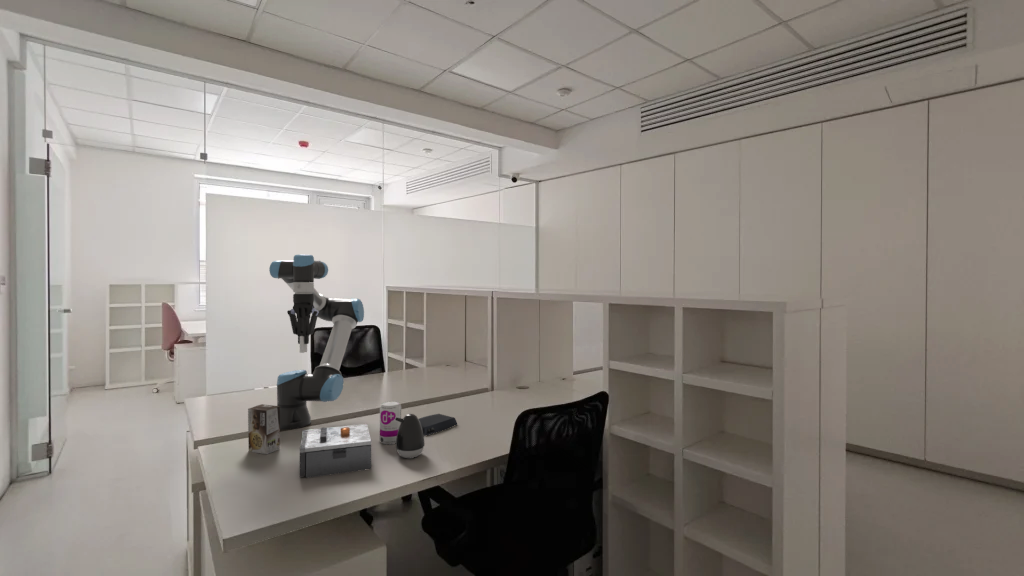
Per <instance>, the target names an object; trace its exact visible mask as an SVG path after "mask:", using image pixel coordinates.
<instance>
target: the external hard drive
mask: <svg viewBox="0 0 1024 576" xmlns="http://www.w3.org/2000/svg"><path fill="white" fill-rule="evenodd" d="M418 419H419V421H420V424H421V426H422V429H423V434H424V437H427V436H429V434H431V435H434V434H437V433H440V432H443V431H446V430H448V428H449V429H451V428H453V427H452V426H454V425H456V426H458V421H457V420H456V417H453V416H449V415H445V414H440V413H435V414H430V415H426V416H423V417H420V418H418ZM450 427H451V428H450ZM454 427H455V426H454ZM445 429H446V430H445ZM442 430H443V431H442ZM436 432H437V433H436ZM433 433H434V434H433ZM426 435H427V436H426Z"/></svg>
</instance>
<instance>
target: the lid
mask: <svg viewBox="0 0 1024 576" xmlns="http://www.w3.org/2000/svg"><path fill="white" fill-rule="evenodd" d="M363 445H371V446H372V438H371V435H370V430H369V426H368V423H364V424H363V423H361V424H350V425H341V426H334V427H333V426H331V427H321V428H313V429H312V428H311V429H310V428H309V429H303V430H302V435H301V440H300V445H299V478H303V477H305V478H306V452H311V451H320V450H328V449H337V448H346V447H354V446H363Z"/></svg>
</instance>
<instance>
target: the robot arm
mask: <svg viewBox="0 0 1024 576" xmlns="http://www.w3.org/2000/svg"><path fill="white" fill-rule="evenodd" d="M328 273H329V267H328V264H326V262H324V261H321V260H315V258H314V256H313V255H312V254H294V256H293V260H282V259H281V260H273V261H272V262H271V263H270V266H269V275H270V277H272V278H274V279H277V280H279V279H280V280H282V281H284V283H285V284H286V285H287V286H288V287H289V288H290V289H291V290H292V292H293V295H292V302H293V306H292V308H291V309H289V310H287V315H288V317H289V320H290V325H291V326H290V327H291V329H292V334H293V335H296V336H297V344H298V345H299V353H300V354H301V353H302V354H304V353H307V352H308V344H309V343H310V335H313V334H314V333H315V329H316V323H317V319H320V320H323V321H325V322H332V324H333V326H332V328H331V332H330V334H329V338H328V340H327V343H326V347H325V349H324V351H323V354H322V357H321V361H320V363H319V365H317V366H315V368H314V371H313V372H312V373H308V371H307V370H306V369H297V370H291V371H286V372H283V373H281V374H278V376H277V381H276V406H280V430H294V429H295V430H296V429H301V428H303V427H306V426H308V425H310V424H311V422H312V419H311V414H310V412H309V408H308V406H307V402H322V403H326V402H334V401H336V400H337V399H338V398H339V397H340V395H341V394H342V392H343V389H344V382H345V381H344V377H343V376H342V372H341V371H340V369H341V365H342V362H343V359H344V355H345V353H346V350H347V347H348V343H349V339H350V337H351V333H352V330H354V329H355V328H356V327H357V325H358V323H362V322H363V321H364V320H365V319H364V318H365V309H364V304H363V302H362V300H361V299H359V298H355V297H354V298H353V297H351V298H344V297H343V298H341V297H340V298H339V297H336V298H334V297H326V296H325V295H323V294H321V293H319V291H317V290H316V288H315V283H314V282H315V281H314V280H315V279H317V280H320V279H324V278H326V277H327V276H328Z"/></svg>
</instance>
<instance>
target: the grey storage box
mask: <svg viewBox="0 0 1024 576" xmlns="http://www.w3.org/2000/svg"><path fill="white" fill-rule="evenodd" d="M365 469H369V470H372V444H371V445H363V446H354V447H346V448H337V449H328V450H320V451H311V452H306V473H305V478H315V477H321V476H322V477H323V476H330V474H331V475H338V473H339V474H345V473H352V471H354V472H359V471H358V470H361V471H366V470H365Z"/></svg>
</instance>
